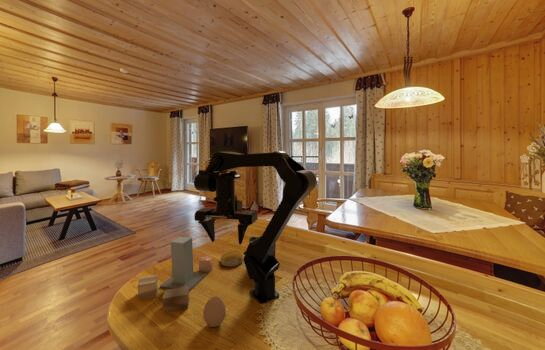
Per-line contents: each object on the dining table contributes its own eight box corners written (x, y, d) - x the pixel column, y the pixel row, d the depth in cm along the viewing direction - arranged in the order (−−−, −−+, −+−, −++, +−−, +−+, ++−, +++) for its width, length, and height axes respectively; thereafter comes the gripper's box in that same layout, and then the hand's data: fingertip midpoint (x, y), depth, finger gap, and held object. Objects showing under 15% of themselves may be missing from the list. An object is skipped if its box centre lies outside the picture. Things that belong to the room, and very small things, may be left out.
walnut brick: (189, 299, 65) (188, 286, 65) (188, 308, 62) (187, 294, 61) (165, 303, 64) (165, 289, 63) (163, 313, 60) (162, 298, 60)
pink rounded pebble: (213, 270, 81) (213, 259, 81) (201, 274, 79) (200, 263, 78) (209, 265, 85) (209, 255, 84) (197, 269, 82) (196, 258, 82)
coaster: (206, 275, 78) (206, 273, 78) (188, 292, 69) (188, 290, 69) (180, 271, 81) (180, 269, 81) (159, 287, 71) (159, 285, 71)
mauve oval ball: (205, 336, 52) (204, 307, 52) (202, 321, 57) (201, 294, 56) (228, 328, 54) (227, 301, 54) (223, 314, 59) (222, 289, 58)
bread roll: (241, 255, 94) (241, 245, 93) (243, 265, 85) (243, 255, 85) (220, 257, 92) (219, 247, 91) (220, 268, 83) (220, 257, 83)
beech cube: (156, 297, 67) (155, 282, 66) (138, 300, 65) (137, 285, 65) (158, 288, 71) (157, 274, 71) (141, 291, 69) (140, 277, 69)
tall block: (193, 276, 76) (192, 238, 75) (185, 284, 72) (183, 243, 71) (181, 274, 77) (180, 236, 76) (172, 281, 73) (170, 241, 72)
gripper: (262, 190, 76) (263, 236, 78) (211, 188, 81) (212, 231, 83) (250, 196, 65) (251, 249, 67) (192, 193, 70) (194, 243, 72)
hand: (226, 242), depth 72 cm, fingers open, 9 cm apart
